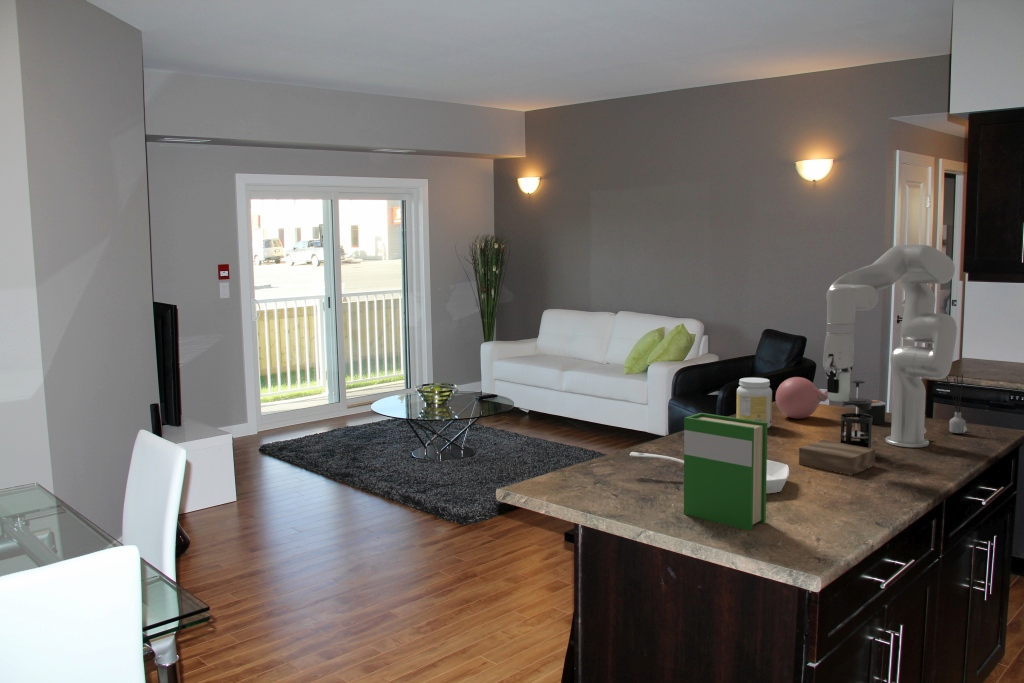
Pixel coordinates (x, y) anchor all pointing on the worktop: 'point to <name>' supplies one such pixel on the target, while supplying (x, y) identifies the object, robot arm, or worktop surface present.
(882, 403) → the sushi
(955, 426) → the reed diffuser
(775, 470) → the pan
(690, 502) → the hardback book
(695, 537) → the worktop surface
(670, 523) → the worktop surface
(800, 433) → the worktop surface
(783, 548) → the worktop surface
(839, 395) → the white rounded capsule
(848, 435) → the french press
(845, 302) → the robot arm
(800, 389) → the balloon
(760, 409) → the supplement tub
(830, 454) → the brown wooden block
